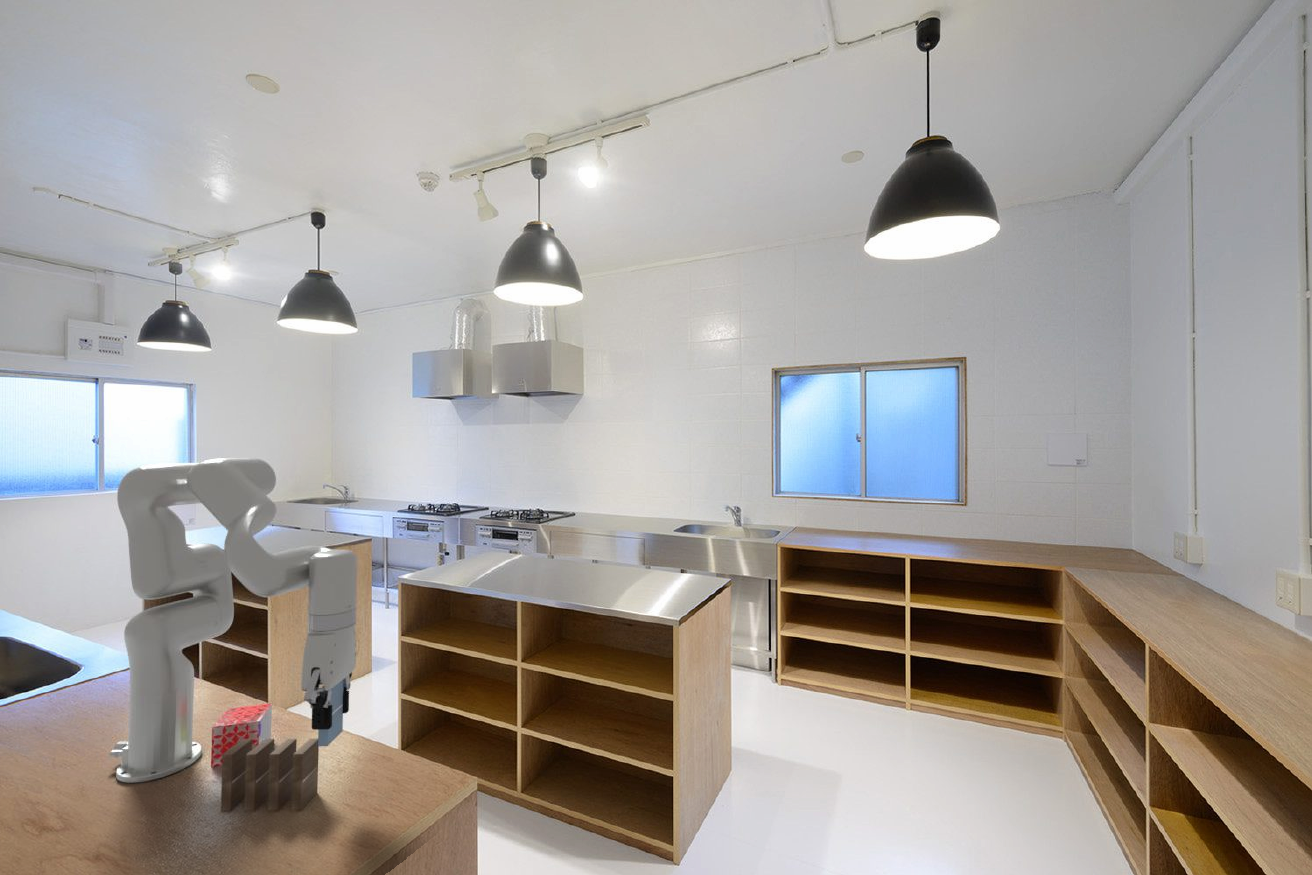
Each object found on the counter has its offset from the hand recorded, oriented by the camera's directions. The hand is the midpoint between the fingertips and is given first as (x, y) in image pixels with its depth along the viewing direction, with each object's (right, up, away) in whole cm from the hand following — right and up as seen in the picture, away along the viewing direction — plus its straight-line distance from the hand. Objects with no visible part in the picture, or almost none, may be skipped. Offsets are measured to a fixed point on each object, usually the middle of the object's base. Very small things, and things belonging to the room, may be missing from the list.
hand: (330, 719), depth 98 cm
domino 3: (-8, -15, -1) cm, 17 cm away
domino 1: (-16, -14, -1) cm, 22 cm away
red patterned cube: (-27, -15, +15) cm, 34 cm away
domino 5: (0, -3, 0) cm, 3 cm away
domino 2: (-12, -15, -1) cm, 19 cm away
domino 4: (-4, -15, 0) cm, 15 cm away
